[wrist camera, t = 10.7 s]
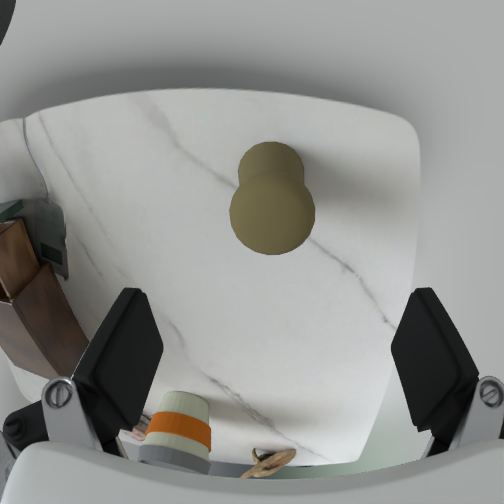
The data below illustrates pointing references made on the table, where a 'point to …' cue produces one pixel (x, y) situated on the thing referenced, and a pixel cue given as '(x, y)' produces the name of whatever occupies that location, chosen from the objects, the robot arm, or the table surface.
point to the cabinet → (41, 328)
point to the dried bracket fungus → (269, 463)
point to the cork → (272, 200)
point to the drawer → (14, 252)
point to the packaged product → (139, 429)
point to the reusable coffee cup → (179, 435)
